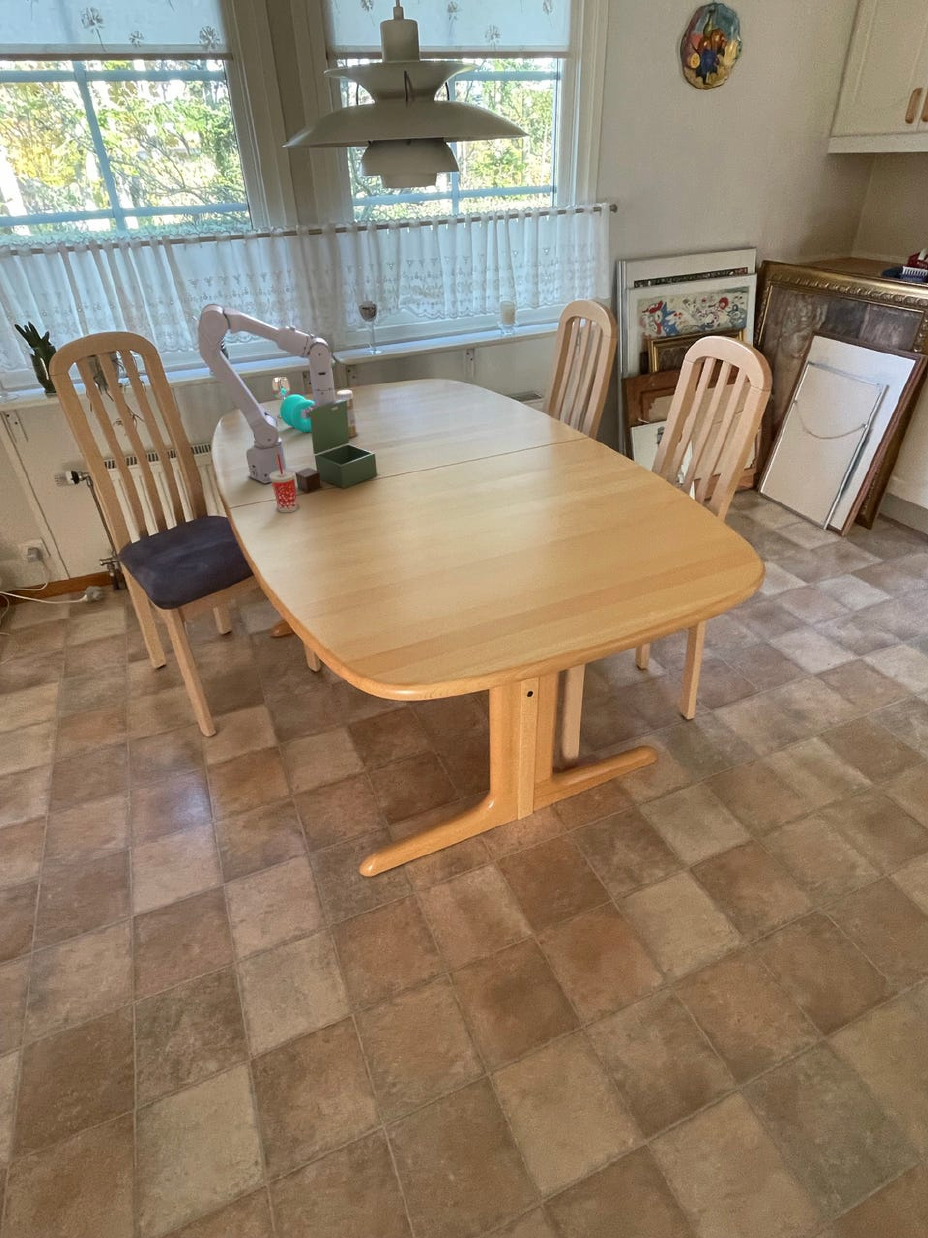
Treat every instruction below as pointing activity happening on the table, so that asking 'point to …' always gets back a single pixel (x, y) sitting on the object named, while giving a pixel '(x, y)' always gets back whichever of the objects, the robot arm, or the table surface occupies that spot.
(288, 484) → the beverage cup
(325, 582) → the table surface
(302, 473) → the block
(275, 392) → the wineglass
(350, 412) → the sprinkles bottle
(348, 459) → the chest
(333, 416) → the lid
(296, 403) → the donuts
